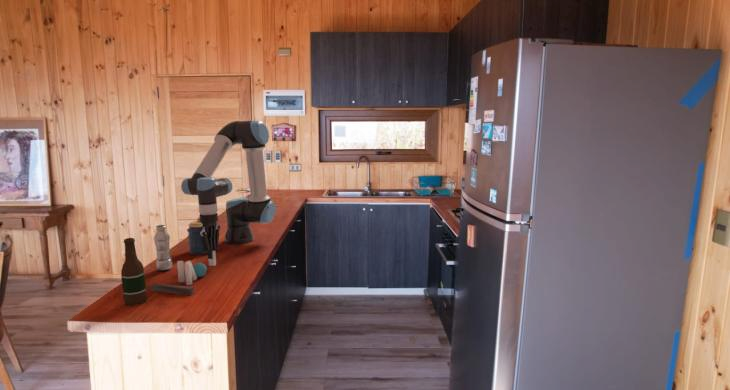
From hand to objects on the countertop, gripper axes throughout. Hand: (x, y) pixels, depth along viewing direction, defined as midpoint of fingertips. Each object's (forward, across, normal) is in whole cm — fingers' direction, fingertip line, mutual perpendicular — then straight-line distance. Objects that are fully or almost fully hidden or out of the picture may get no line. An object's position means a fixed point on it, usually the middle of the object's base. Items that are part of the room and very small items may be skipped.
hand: (212, 265), depth 197 cm
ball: (-1, +10, 0) cm, 10 cm away
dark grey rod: (+2, +27, 0) cm, 27 cm away
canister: (+2, -23, -21) cm, 31 cm away
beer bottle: (+2, +38, -7) cm, 39 cm away
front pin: (+2, +13, 0) cm, 13 cm away
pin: (+2, +18, +1) cm, 18 cm away
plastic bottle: (+2, +5, -21) cm, 22 cm away
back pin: (+2, +16, -4) cm, 17 cm away
